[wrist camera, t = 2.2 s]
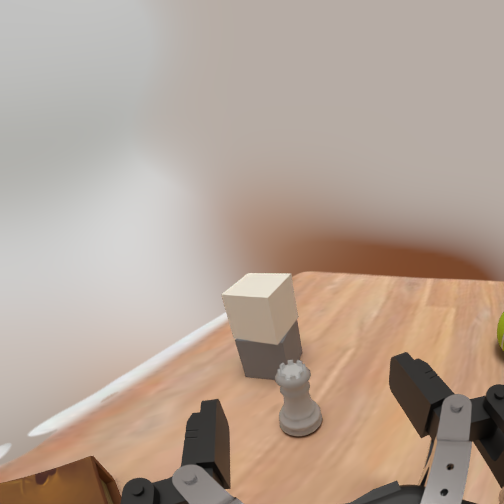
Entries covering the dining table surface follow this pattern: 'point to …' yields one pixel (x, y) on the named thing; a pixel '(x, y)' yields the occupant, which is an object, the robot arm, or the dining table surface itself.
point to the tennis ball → (501, 331)
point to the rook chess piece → (297, 400)
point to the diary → (64, 486)
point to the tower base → (269, 354)
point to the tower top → (261, 307)
